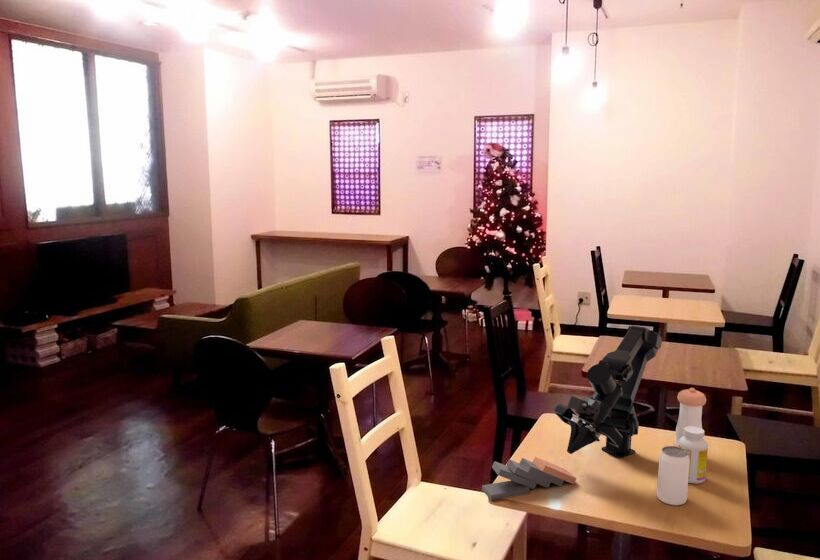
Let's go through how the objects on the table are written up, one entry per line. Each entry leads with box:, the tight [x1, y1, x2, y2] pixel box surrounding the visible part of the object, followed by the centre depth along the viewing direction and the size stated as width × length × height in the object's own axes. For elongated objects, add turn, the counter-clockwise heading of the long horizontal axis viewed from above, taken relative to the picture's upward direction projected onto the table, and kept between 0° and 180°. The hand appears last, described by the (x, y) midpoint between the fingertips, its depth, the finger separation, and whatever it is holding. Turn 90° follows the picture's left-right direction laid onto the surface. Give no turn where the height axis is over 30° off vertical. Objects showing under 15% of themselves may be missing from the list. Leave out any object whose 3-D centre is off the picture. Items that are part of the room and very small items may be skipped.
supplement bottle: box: [678, 426, 709, 485], centre depth 161 cm, size 7×7×13 cm
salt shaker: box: [672, 387, 707, 447], centre depth 172 cm, size 7×7×19 cm
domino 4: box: [518, 457, 565, 487], centre depth 158 cm, size 2×5×10 cm
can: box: [656, 445, 689, 507], centre depth 151 cm, size 6×6×12 cm
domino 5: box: [532, 456, 577, 485], centre depth 160 cm, size 2×5×10 cm
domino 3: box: [505, 458, 552, 489], centre depth 158 cm, size 2×5×10 cm
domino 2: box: [481, 480, 530, 501], centre depth 155 cm, size 2×5×10 cm
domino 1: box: [491, 461, 538, 490], centre depth 157 cm, size 2×5×10 cm
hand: (568, 452), depth 160 cm, fingers closed
